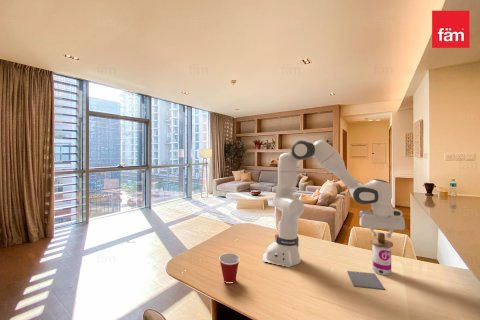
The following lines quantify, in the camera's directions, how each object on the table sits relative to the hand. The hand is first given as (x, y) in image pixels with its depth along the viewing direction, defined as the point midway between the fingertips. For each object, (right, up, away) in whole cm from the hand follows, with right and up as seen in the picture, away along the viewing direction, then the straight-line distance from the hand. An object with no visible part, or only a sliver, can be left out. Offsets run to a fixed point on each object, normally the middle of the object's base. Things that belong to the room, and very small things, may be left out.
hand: (381, 236), depth 113 cm
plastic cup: (-79, -21, -4) cm, 82 cm away
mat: (-13, -19, -7) cm, 24 cm away
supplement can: (0, -19, 0) cm, 19 cm away
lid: (0, -4, 0) cm, 4 cm away
